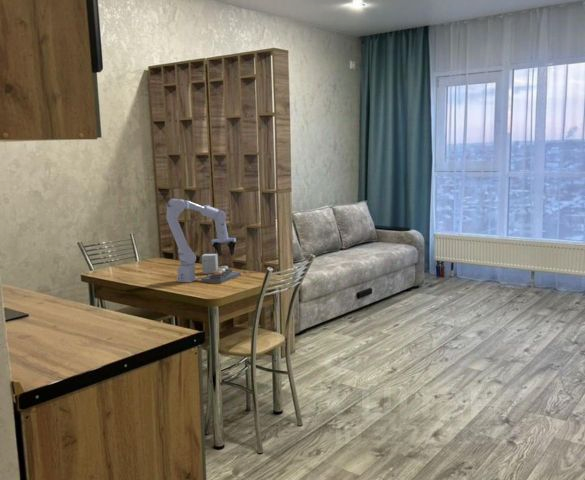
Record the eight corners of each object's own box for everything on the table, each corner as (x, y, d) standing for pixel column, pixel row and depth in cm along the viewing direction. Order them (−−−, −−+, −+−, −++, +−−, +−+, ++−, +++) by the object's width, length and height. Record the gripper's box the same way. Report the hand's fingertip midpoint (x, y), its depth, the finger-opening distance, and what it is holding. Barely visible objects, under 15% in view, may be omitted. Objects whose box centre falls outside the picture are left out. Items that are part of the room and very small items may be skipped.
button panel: (221, 283, 295) (220, 277, 295) (201, 281, 300) (200, 275, 299) (240, 275, 314) (240, 269, 314) (221, 274, 319) (221, 268, 318)
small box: (218, 271, 327) (217, 253, 326) (216, 273, 322) (215, 255, 320) (204, 271, 328) (204, 253, 327) (202, 273, 322) (201, 255, 321)
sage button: (225, 270, 310) (225, 267, 310) (218, 270, 312) (218, 267, 312) (229, 269, 314) (229, 266, 314) (222, 269, 316) (222, 265, 316)
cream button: (222, 273, 304) (222, 269, 303) (215, 272, 305) (215, 269, 305) (226, 271, 308) (226, 268, 307) (219, 271, 309) (219, 267, 309)
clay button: (219, 275, 297) (219, 272, 297) (212, 275, 299) (212, 271, 298) (223, 274, 301) (223, 270, 301) (216, 273, 303) (216, 270, 302)
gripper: (236, 228, 314) (241, 252, 317) (214, 230, 320) (218, 253, 323) (230, 232, 307) (235, 256, 310) (207, 233, 313) (212, 257, 316)
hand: (226, 255), depth 316 cm, fingers open, 7 cm apart
